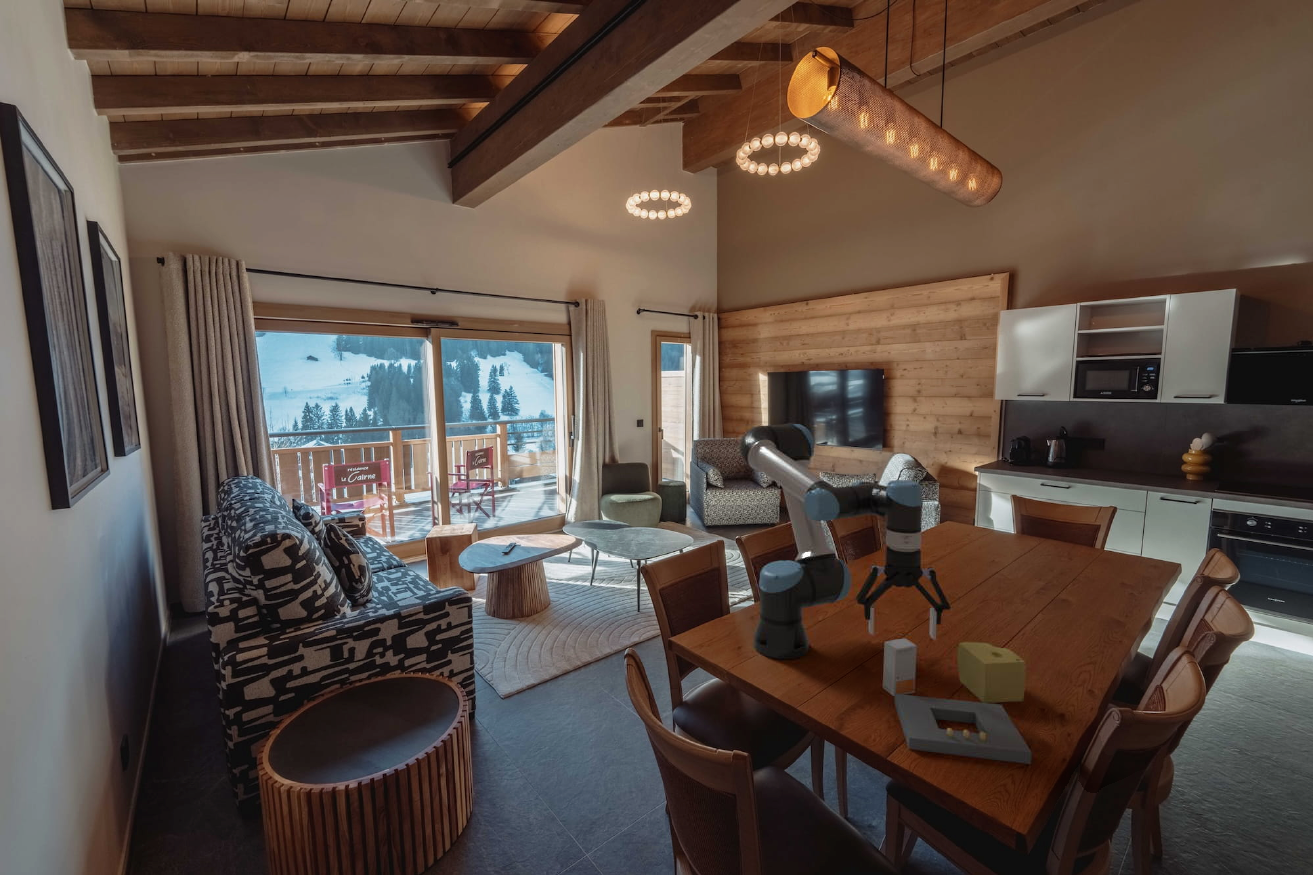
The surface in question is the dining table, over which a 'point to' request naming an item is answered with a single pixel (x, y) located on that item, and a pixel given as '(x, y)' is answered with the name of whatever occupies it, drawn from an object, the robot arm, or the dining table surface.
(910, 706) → the grey frame plate
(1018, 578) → the dining table surface
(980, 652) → the cheese
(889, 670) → the skincare box
